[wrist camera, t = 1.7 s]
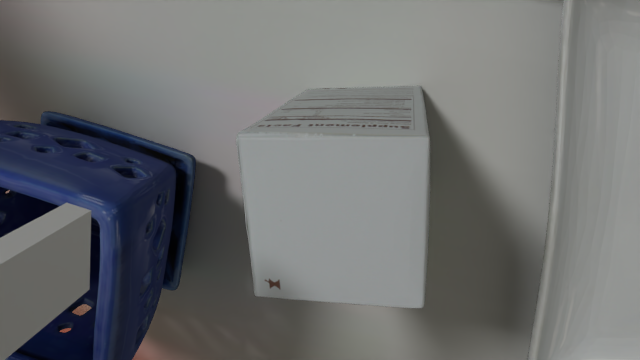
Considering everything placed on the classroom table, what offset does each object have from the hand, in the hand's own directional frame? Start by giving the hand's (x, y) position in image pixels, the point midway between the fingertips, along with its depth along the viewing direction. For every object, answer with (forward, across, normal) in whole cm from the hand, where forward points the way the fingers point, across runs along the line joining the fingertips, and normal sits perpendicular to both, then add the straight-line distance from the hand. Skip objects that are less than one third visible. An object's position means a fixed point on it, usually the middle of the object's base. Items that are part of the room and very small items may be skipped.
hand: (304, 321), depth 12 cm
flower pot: (+18, -16, -9) cm, 26 cm away
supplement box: (+18, 0, 0) cm, 18 cm away
